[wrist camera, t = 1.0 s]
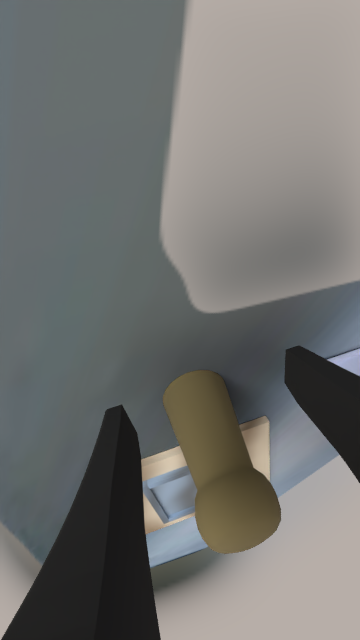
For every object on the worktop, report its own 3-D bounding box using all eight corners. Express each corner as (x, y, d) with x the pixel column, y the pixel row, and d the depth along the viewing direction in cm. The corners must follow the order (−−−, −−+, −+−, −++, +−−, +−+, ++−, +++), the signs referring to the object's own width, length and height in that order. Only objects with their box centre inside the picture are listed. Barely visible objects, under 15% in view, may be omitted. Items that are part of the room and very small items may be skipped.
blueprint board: (265, 415, 27) (272, 426, 26) (266, 481, 36) (271, 491, 35) (87, 478, 26) (86, 493, 25) (134, 531, 34) (135, 543, 33)
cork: (218, 412, 25) (279, 551, 16) (160, 420, 24) (190, 577, 15) (231, 367, 22) (315, 505, 13) (165, 372, 21) (207, 533, 12)
